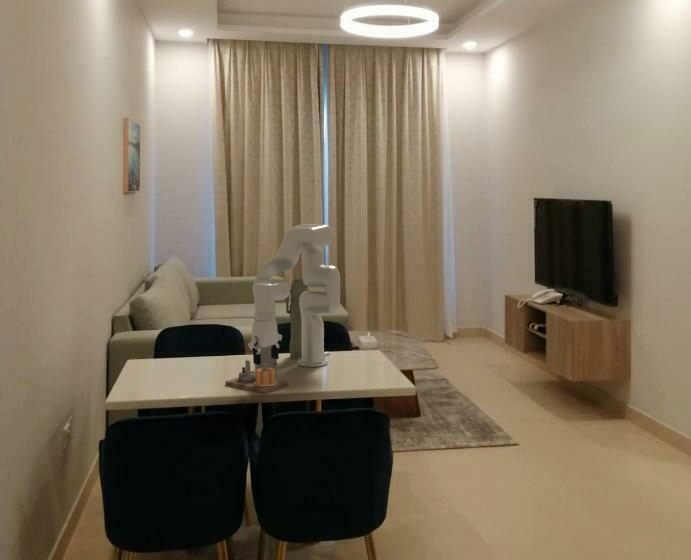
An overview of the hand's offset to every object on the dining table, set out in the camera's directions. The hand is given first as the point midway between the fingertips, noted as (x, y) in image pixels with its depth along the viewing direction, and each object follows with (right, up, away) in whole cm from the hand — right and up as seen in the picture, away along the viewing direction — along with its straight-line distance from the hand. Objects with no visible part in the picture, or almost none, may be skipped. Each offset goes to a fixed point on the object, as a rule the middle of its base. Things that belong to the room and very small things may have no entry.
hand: (266, 361), depth 257 cm
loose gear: (0, -8, 0) cm, 8 cm away
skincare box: (-2, -8, +20) cm, 22 cm away
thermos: (+9, -4, +51) cm, 52 cm away
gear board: (-4, -10, +3) cm, 11 cm away
